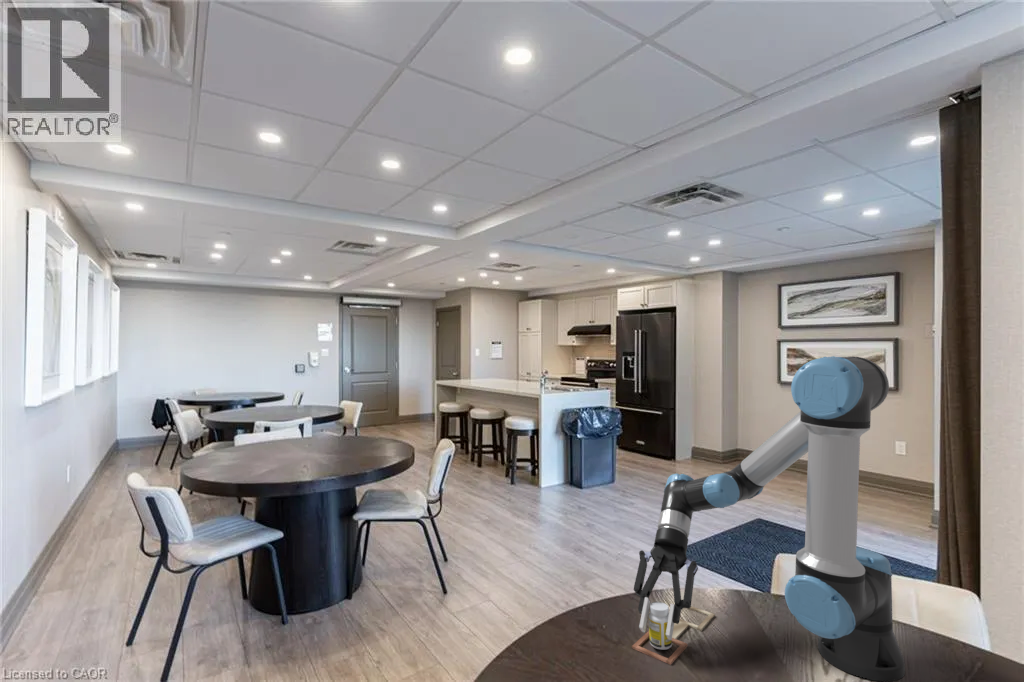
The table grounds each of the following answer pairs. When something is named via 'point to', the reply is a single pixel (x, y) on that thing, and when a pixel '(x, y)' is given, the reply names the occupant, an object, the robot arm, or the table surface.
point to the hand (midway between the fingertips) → (655, 633)
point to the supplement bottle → (659, 625)
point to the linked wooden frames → (674, 637)
